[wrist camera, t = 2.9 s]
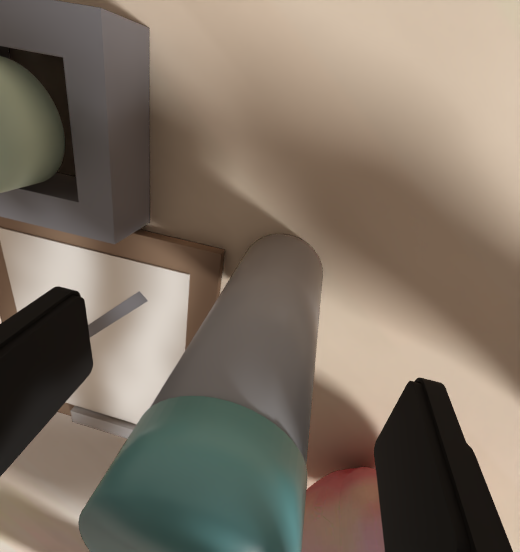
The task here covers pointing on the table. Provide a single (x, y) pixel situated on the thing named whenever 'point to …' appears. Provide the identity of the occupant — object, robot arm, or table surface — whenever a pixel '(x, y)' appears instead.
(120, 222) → the button housing
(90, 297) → the clipboard
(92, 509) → the marker
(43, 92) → the button
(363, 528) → the decorative fruit
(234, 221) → the table surface
